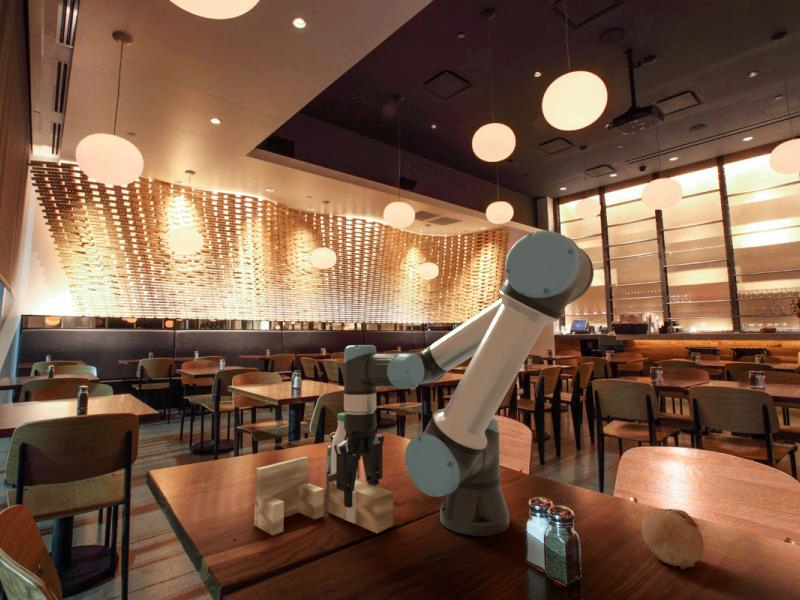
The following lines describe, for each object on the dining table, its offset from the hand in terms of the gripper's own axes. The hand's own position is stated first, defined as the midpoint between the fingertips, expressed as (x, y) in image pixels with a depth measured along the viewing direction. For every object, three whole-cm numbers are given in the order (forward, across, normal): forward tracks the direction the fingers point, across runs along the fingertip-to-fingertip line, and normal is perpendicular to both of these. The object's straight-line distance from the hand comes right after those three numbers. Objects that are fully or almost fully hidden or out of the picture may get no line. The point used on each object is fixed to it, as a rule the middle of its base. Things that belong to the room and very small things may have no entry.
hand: (360, 517), depth 94 cm
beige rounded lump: (+1, -25, +56) cm, 61 cm away
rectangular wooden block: (0, 0, 0) cm, 0 cm away
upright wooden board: (0, +11, -11) cm, 16 cm away
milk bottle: (0, -11, -18) cm, 21 cm away
